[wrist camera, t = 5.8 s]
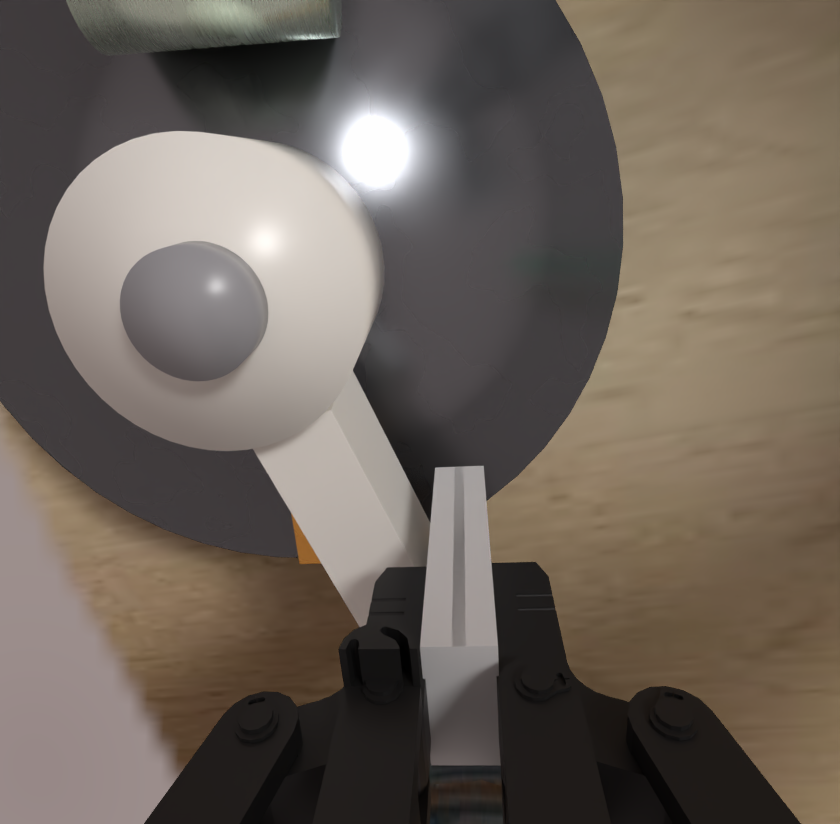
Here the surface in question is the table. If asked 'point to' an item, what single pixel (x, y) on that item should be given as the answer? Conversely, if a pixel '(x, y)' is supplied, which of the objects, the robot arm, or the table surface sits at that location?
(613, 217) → the base
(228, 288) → the knob
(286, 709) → the robot arm
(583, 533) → the table surface
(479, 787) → the beer stein
